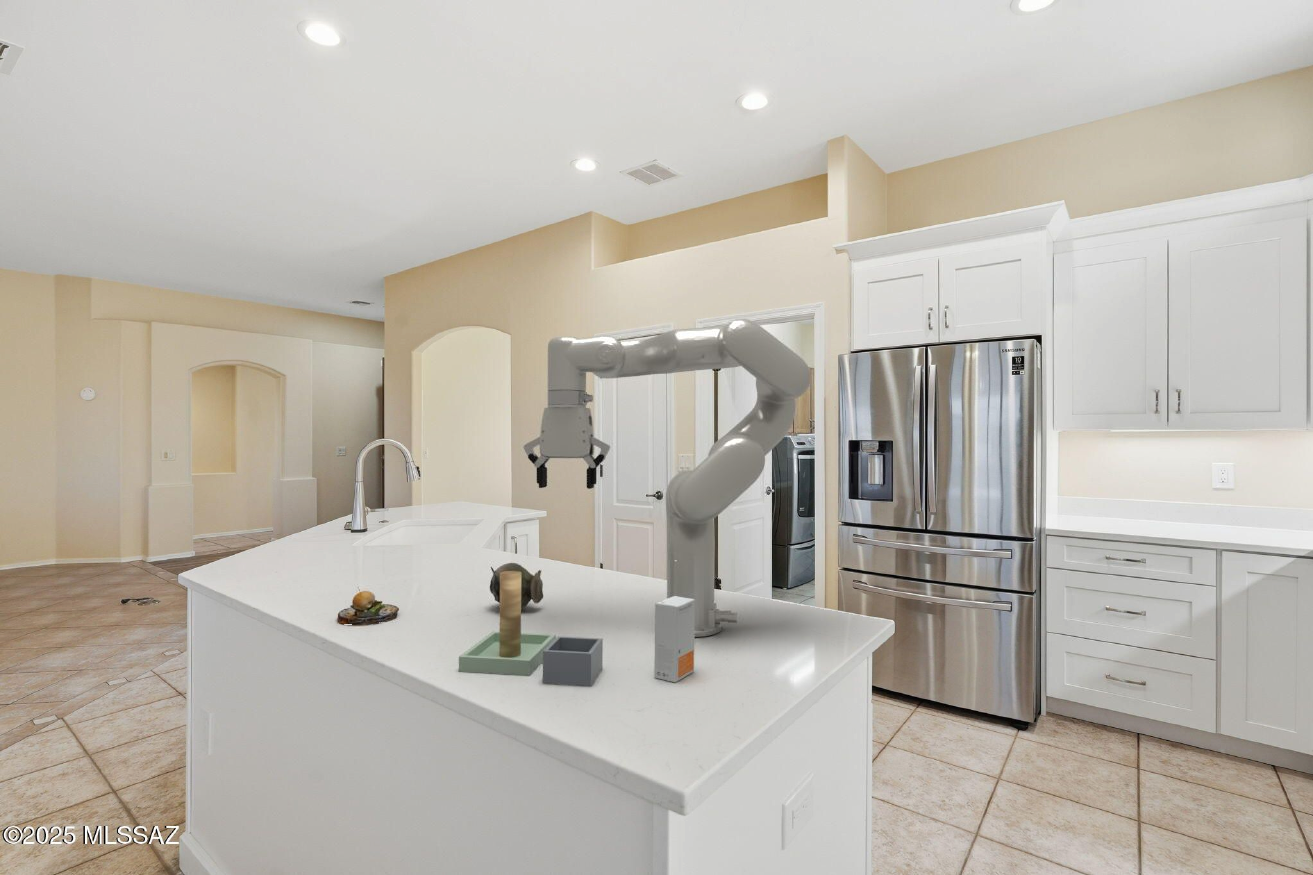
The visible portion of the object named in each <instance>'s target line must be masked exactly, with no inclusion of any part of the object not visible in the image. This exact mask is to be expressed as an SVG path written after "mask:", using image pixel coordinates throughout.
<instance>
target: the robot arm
mask: <svg viewBox="0 0 1313 875" xmlns="http://www.w3.org/2000/svg"><path fill="white" fill-rule="evenodd" d="M738 367H742V368H743V369H744V370H745V371H746V372H748V373H749V374H750V375H752V376H753V377H754V378H755V388H756V394H757V395H756V402H755V405H754V406H753V408H752V410H751V411H750V412H749V413H747V414H746V415H745V417H743V419H742V420H741V421H740V422H738V423H737V424H736V425H735V426H734V427H732V428H731V429H730V430H729V431H728V432H727V433H726V434H724V435H723V436H722V437H720V438H719V439H718V440H717V441H715V442H714V443H713V444H712V446H711V448H710V449H709V452H708V454H707V457H706V458H705V459H703V460H702V461H701V462H700V463H699V464H698V465H697V466H696V467H695V468H694V469H692V470H691V469H690V470H689V469H688V470H684V471H681V472H678V473H677V474H676V475H674V476H673V477H672V478H671V479H670V481H669V482H668V485H667V488H666V492H665V512H666V514H665V515H666V529H667V530H666V534H667V535H666V536H667V537H666V542H667V544H666V599H667V598H671V597H673V596H678V597H683V598H690V599H695V635H694V638H699V637H701V638H702V637H708V636H712V635H716V634H718V633H720V632H721V631H722V630H723V629H722V628H723V623H724V622H725V623H733V624H737V622H738V620H737V619H738V614H737V612H732V611H731V610H720V608H717V602H715V551H716V550H715V548H716V546H715V545H716V543H715V542H716V541H715V521H714V519H715V518H717V516H719V515H720V514H722V512H724V511H725V510H726V509H727V508H728V507H729V506H730V505H732V504H733V503H734V502H735V501H736V500H737V499H738V498H739V497H741V495H743V494H744V493H745V492H746V491H747V490H748V489H749V488H750V487H751V486H752V485H753V484H754V483H756V482H757V480H758V479H759V478H760V476H761V475H762V473H763V471H764V469H765V464H766V456H767V455H768V454H769V453H771V451H772V450H773V449H774V448H775V447H776V446H777V445H778V444H779V443H780V442H781V441H783V439H784V438H785V437H786V436H787V434H788V433H789V431H791V430H790V429H792V426H793V422H794V421H795V416H796V415H795V414H796V407H797V406H796V405H797V403H796V402H797V401H796V399H798V398H800V397H802V396H803V395H804V394H805V393H806V392H807V391H808V390H809V387H810V385H811V382H812V372H811V370H810V367H809V366H808V363H807V362H806V361H805V360H804V359H803V358H802V357H801V356H800V355H799V354H797V352H795V351H793V350H792V349H791V348H790V347H788V346H787V345H786V344H784V343H783V342H782V341H781V340H779V339H778V338H777V337H776V336H774V335H773V334H772V333H770V332H769V331H767V330H766V329H765V328H764V327H762V326H761V325H760V324H758V323H757V322H755V321H752V320H750V319H746V318H739V319H735V320H733V321H731V322H729V323H728V324H727V325H719V326H718V325H716V326H715V325H714V326H704V327H694V328H693V327H692V328H678V329H672V330H667V331H666V332H663V333H660V334H658V335H655V336H653V337H652V336H651V337H649V338H643V339H638V340H632V341H631V340H629V341H620V340H619V339H617V338H616V337H614V336H610V335H599V336H593V337H582V338H581V337H580V338H578V337H573V336H558V337H554V338H552V339H550V340H549V342H548V344H547V407H544V409H543V413H542V418H541V424H540V425H541V426H540V432H539V433H540V436H539V437H537V438H534V439H533V440H531V441H529V442H528V443H525V444H524V445H523V450H524V452H525V454H526V455H527V458H528V460H529V461H530V462H531V463H532V464H533V465H534V467H535V468H536V483H537V485H538V488H539V489H543V488H546V487H547V486H548V468H547V466H546V464H547V463H548V462H549V460H550V459H582V460H584V461H585V462H586V464H587V465H588V467H587V468H586V488H587V489H588V490H590V489H594V488H595V485H597V472H598V471H597V469H598V467H599V466H600V464H602V463H603V462H604V461H605V460H606V457H607V455H608V454H609V452H610V449H611V445H609V444H608V443H606V442H604V441H602V440H600V439H598V438H596V437H595V436H594V423H593V417H592V410H591V408H590V407H587V405H588V403H590V402H594V395H593V394H589V393H588V392H587V373H592V375H595V376H596V377H598V378H600V379H620V378H621V379H622V378H631V377H632V378H633V377H643V376H650V375H660V374H661V375H667V374H668V375H669V374H674V373H686V372H694V371H705V370H719V369H732V368H738ZM538 446H539V454H540V456H537V454H536V453H535V450H534V448H536V447H538ZM595 447H598V448H599V449H600V452H599V454H598V455H597V456H596V457H594V456H593V455H594V454H595Z"/></svg>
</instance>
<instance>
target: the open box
mask: <svg viewBox="0 0 1313 875" xmlns="http://www.w3.org/2000/svg"><path fill="white" fill-rule="evenodd" d="M603 643H604V642H603V638H598V637H580V636H578V637H576V636H560V635H559V636H557V635H556V638H555V639H554V640H553V641H552V642H551V643H550V644H549V645H548V646H547V647H546V648H545V649H544V650H543V662H542V684H547V685H549V684H550V685H562V686H563V685H564V686H565V685H566V686H580V687H592V686H593V684H594V682H595V681H596V680H597V678H598V676H599V675H600V673H601V671H602V670H603V664H604V663H603V659H604V658H603V645H604V644H603Z"/></svg>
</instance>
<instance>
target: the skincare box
mask: <svg viewBox="0 0 1313 875" xmlns="http://www.w3.org/2000/svg"><path fill="white" fill-rule="evenodd" d="M654 610H655V611H654V612H655V613H654V661H653V662H654V663H653V664H654V670H653V671H654V673H653V674H654V675H653V676H654V678H655V679H659V680H664V681H667V682H672V683H678V682H679V681H680V680H682V679H684V678H685V677H687V676H689V675H690V674H692V673H694V672H695V637H694V635H695V599H690V598H683V597H678V596H673V597H671V598H667V597H666V598H665V599H663V600H661V601H658V602H655V607H654Z"/></svg>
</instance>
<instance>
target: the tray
mask: <svg viewBox="0 0 1313 875" xmlns="http://www.w3.org/2000/svg"><path fill="white" fill-rule="evenodd" d="M499 635H500V631H492V632H490V633H489V634H488V635H485V637H484V638H482V639H481V640H479V641H478V642H476V643H475V644H474V645H473V646H471V647H470V648H468V649H467V650H465V652H463V653H461V654H460V655H459V656H458V672H463V673H477V674H478V673H481V674H482V673H483V674H496V675H497V674H498V675H515V676H531V675H532V674H533V673H534V671H536V669H538V667H539V666H540V665H541V664H543V650H544V649H545V648H546V647H547V646H548V645H549V644H550V643H551V642H552V641H553V640H554V639H555V638H556V637H557V634H548V633H528V632H527V633H525V632H521V655H519V656H517V657H513V658H505V657H500V656H499Z"/></svg>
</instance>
